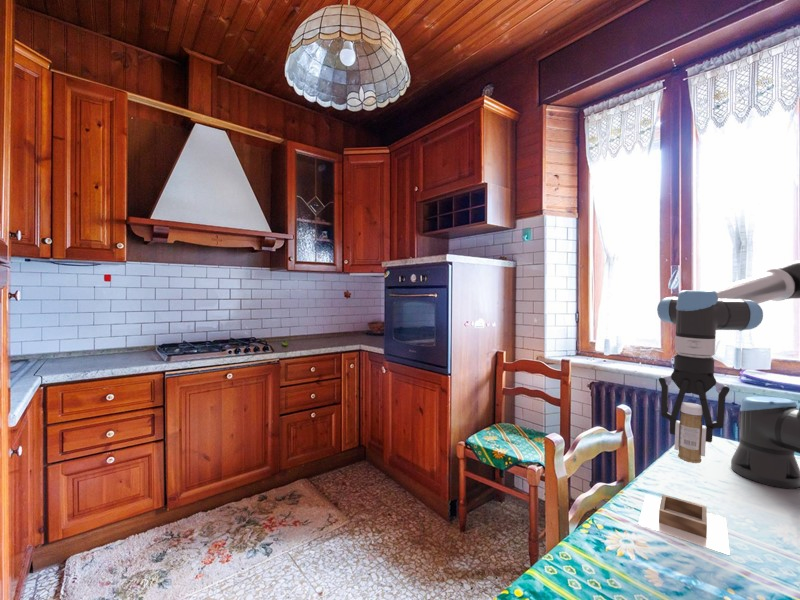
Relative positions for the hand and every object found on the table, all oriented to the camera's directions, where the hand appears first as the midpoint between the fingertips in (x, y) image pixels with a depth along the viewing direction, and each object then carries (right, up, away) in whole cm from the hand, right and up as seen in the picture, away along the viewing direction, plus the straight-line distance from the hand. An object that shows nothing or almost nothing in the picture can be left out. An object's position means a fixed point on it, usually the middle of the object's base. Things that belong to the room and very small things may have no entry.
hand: (689, 450), depth 90 cm
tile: (-3, -17, -2) cm, 17 cm away
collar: (-3, -16, -2) cm, 16 cm away
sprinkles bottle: (0, -2, 0) cm, 2 cm away
